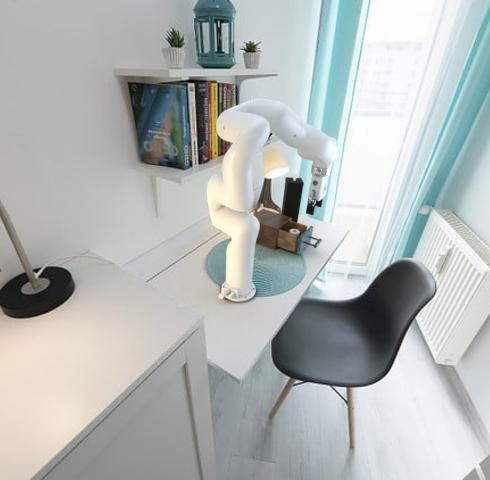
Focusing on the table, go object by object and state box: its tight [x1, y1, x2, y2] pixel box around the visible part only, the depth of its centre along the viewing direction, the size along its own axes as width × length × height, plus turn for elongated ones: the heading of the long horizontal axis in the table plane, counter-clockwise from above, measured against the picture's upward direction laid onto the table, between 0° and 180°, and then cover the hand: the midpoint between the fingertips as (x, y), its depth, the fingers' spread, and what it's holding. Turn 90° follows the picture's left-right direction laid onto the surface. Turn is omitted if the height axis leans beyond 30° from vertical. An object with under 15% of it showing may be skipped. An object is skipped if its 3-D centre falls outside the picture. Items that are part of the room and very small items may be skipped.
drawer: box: [276, 221, 323, 256], centre depth 131 cm, size 20×14×9 cm, turn 57°
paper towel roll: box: [289, 229, 300, 245], centre depth 132 cm, size 5×5×6 cm
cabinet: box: [253, 208, 292, 250], centre depth 138 cm, size 16×15×11 cm
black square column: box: [280, 172, 305, 223], centre depth 147 cm, size 8×8×28 cm
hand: (313, 210), depth 122 cm, fingers open, 9 cm apart
